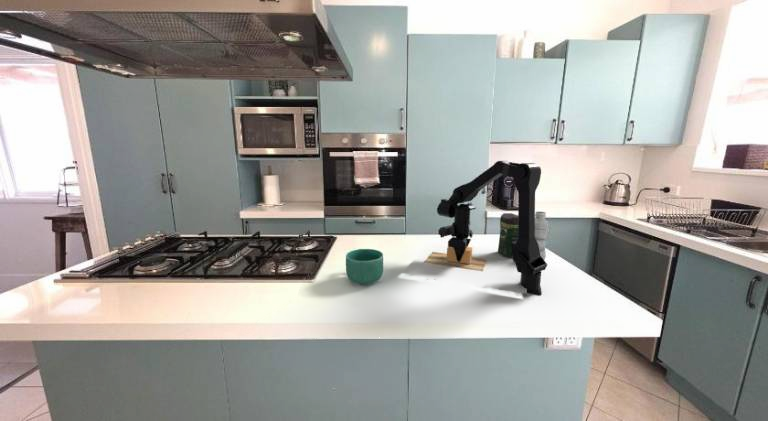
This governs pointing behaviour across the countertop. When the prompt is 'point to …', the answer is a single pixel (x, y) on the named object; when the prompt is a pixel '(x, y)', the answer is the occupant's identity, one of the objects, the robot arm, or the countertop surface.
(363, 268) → the mug
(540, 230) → the plastic bottle
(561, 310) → the countertop surface
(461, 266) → the oak board
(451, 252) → the block
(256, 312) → the countertop surface
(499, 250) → the coffee jar
